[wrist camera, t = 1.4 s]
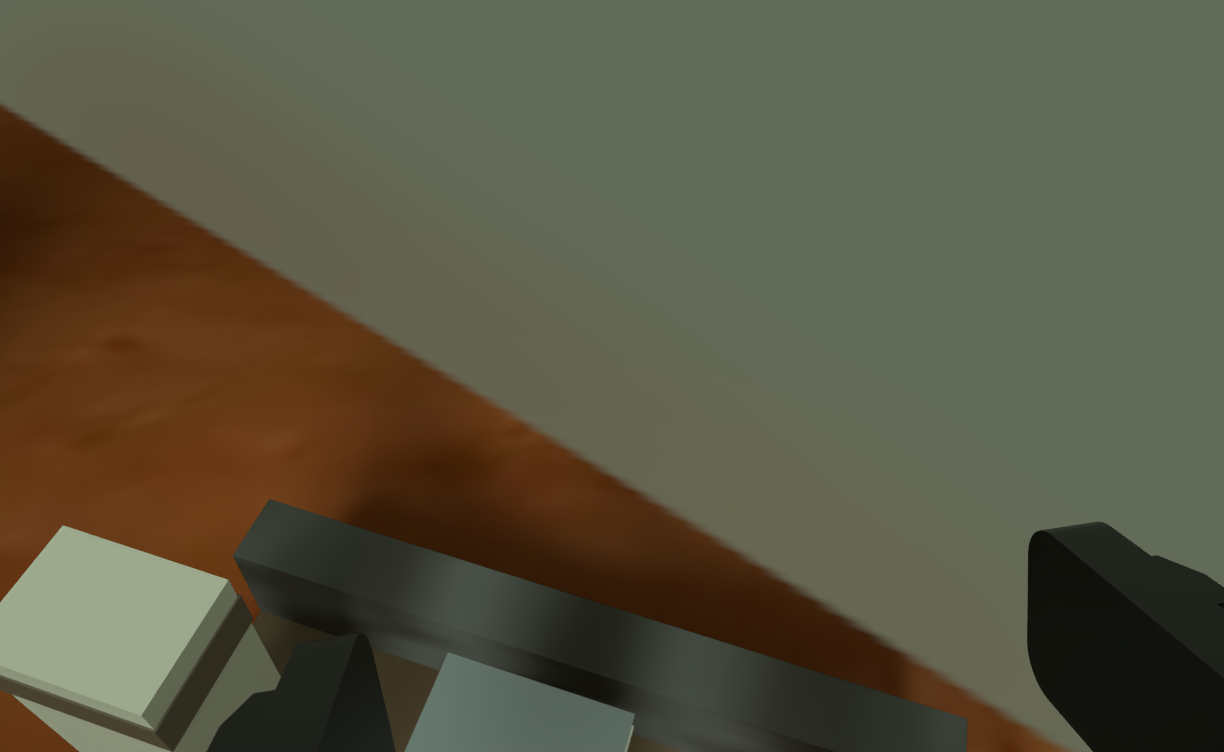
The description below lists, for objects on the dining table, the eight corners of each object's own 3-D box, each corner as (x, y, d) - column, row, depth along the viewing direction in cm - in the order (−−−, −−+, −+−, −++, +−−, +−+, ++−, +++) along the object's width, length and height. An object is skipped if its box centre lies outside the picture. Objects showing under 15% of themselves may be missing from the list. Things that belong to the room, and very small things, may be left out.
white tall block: (150, 814, 27) (-44, 652, 18) (209, 714, 29) (62, 523, 20) (274, 860, 26) (142, 718, 17) (326, 756, 28) (232, 578, 19)
